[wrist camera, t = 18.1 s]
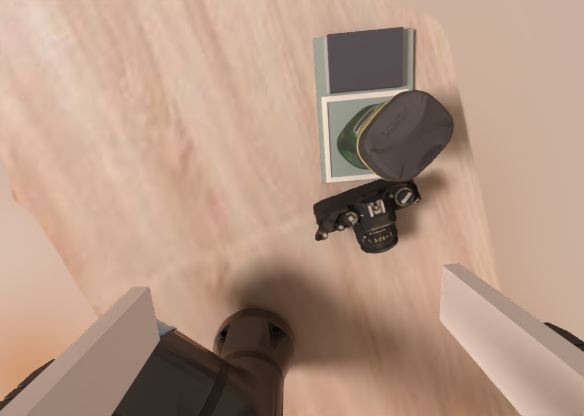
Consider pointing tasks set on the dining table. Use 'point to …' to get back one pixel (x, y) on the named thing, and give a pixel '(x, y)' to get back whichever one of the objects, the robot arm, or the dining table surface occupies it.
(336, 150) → the board
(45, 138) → the dining table surface
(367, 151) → the coffee jar
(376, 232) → the film camera
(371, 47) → the pad
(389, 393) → the dining table surface
